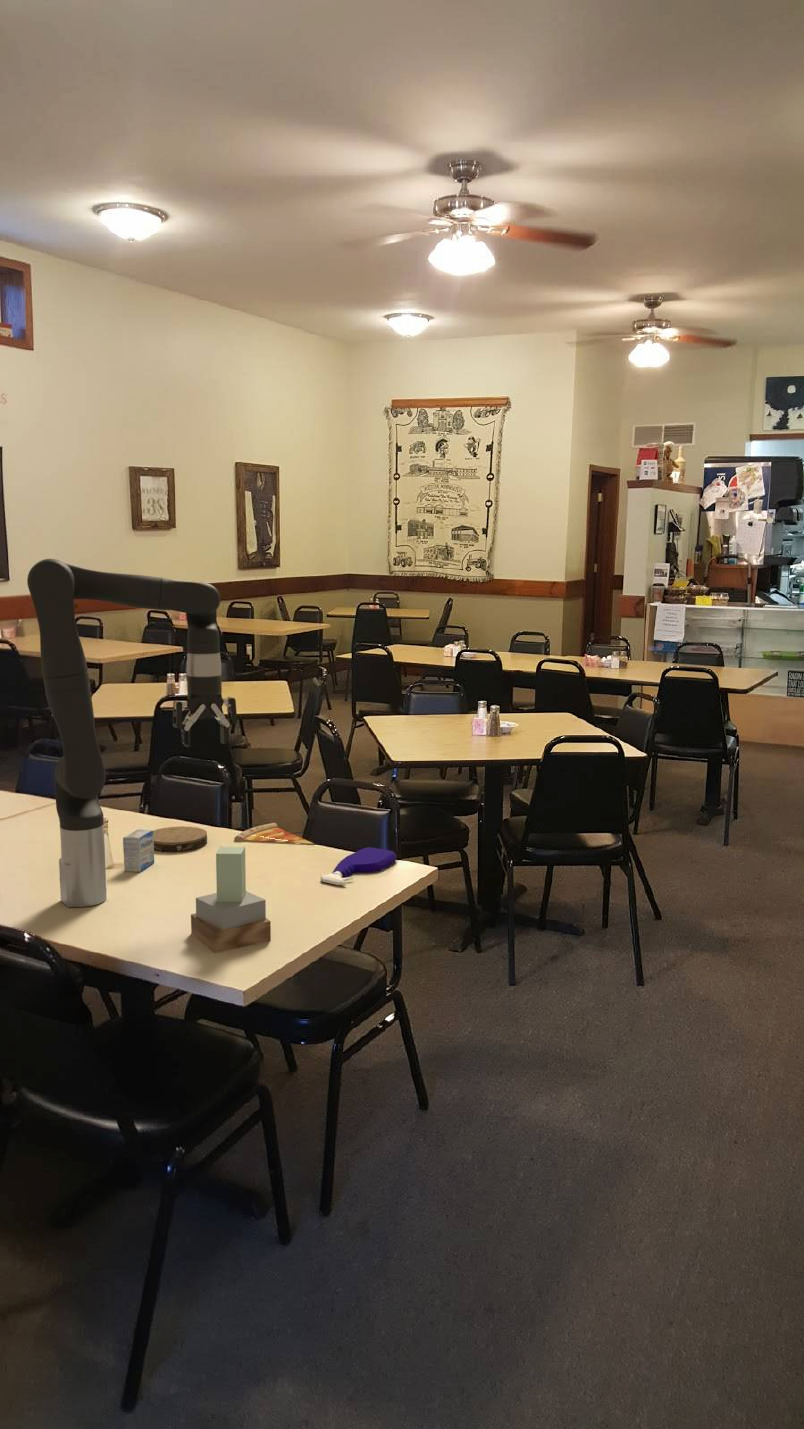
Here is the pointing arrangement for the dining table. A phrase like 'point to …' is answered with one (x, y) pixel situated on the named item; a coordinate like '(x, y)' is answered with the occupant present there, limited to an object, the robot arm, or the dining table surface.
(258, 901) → the slate grey block
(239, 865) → the sage pillar block
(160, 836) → the brown round disc
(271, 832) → the pizza slice
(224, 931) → the walnut base block
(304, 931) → the dining table surface
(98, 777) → the robot arm
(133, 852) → the medicine box
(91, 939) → the dining table surface
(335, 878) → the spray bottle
